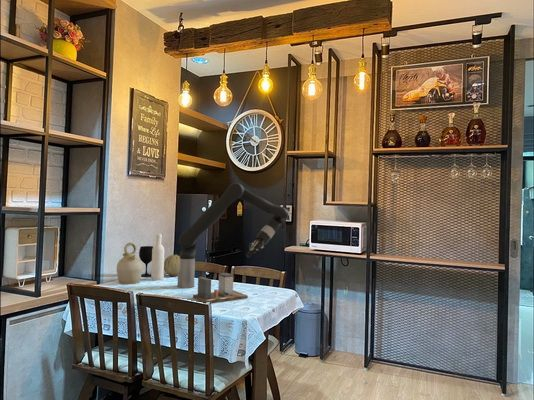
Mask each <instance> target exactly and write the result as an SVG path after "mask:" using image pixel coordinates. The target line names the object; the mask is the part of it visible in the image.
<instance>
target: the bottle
mask: <svg viewBox="0 0 534 400" xmlns="http://www.w3.org/2000/svg"><path fill="white" fill-rule="evenodd" d="M162 237H163V236H162V233H156V234H155V245H154V246H153V249H152V261H151V273H150V274H151V277H150V278H151V279H152V280H151V279H150V280H151V281H155V280H159V281H163V280H164V277H165V274H164V273H165V271H164V261H165V247H164V246H163V244H162V241H163V240H162Z"/></svg>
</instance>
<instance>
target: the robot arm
mask: <svg viewBox="0 0 534 400" xmlns="http://www.w3.org/2000/svg"><path fill="white" fill-rule="evenodd" d="M237 199H240V200H242V201H244V202H247V203H248V204H250V205H251V206H253V207H254V208H256V209H257V210H259V211H260V212H263V213H264V214H267V215H273V217H272V218H271V219H270V220H269V221H268V222H267V223H266V225H264V226H263V227H262V228H261V230H259V232H258V233H257V235H256V236H255V237H256V239H255V240H253V242H249V245H248V250H249V251H248V252H247V254H245V256H246V257H247V258H251V257H252V255H253V254H255V253H256V254H257V253H259V252H260V251H262V250H263V249H265V245H268V242H269V241H271V239H272V238H273V236H274V235H275V234H276V232H277V231H278V230H279V228H280V226H282V225H283V223H284V222H285V221H286V220H287V219H288V217H289V211H288V210H287V208H286V207H284V206H281V205H277V204H274V203H272V202H270V201H268V199H267V200H266V199H265V198H262V197H261V196H258V195H257V194H255V193H252V191H249V190H248V189H247V188H245V187H244V186H243V185H242V184H241V183H238V182H233V183H231V184H230V185H229V186H228V187H227V189H226V190H225V191H224V192H223V193H222V195H221V196H220V197H219V198H218V199H216V200H215V201H214V202H213V203H212V204H211V205H210V206H209V207H207V208H206V210H204V211H203V213H202V214H201V215H200V216H199V217H198V218H196V219H197V220H195V222H194V223H193V224H192V225H191V226H190V227H189V228H187V229H186V230H185V231H184V232H183V233H182V234H181V235H180V236H179V239H178V244H179V246H180V247H181V250H180V253H179V256H180V265H179V271H178V276H177V287H178V288H180V289H182V288H183V289H192V288H194V287H195V275H196V274H195V273H196V272H195V271H196V270H195V269H196V268H195V267H196V252H197V241H198V240H197V239H198V238H199V237H200V236H201V235H202V234H203V233H204V232H205V231H207V230H208V229H209V228H211V227H212V226H213V225H214V224H215V223H216V222H217V221H218V220H219V219H220V218H221V217H222V215H224V213H225V212H226V210H227V208H228V207H229V206H230V205H231V204H233V202H235V201H237Z"/></svg>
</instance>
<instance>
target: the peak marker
mask: <svg viewBox="0 0 534 400" xmlns="http://www.w3.org/2000/svg"><path fill="white" fill-rule="evenodd" d="M213 292H214V298H218V289H214V290H213Z"/></svg>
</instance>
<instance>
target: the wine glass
mask: <svg viewBox="0 0 534 400" xmlns="http://www.w3.org/2000/svg"><path fill="white" fill-rule="evenodd" d="M153 247H154V246H153V245H142V246H140V247H139V251H138V256H139V257H138V258H139V259H140V260H141V262H142V264H144V265H145V272H144V273H142V274H141V278H151V274H152V273H148V265H149V264H150V263H152V249H153Z"/></svg>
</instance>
